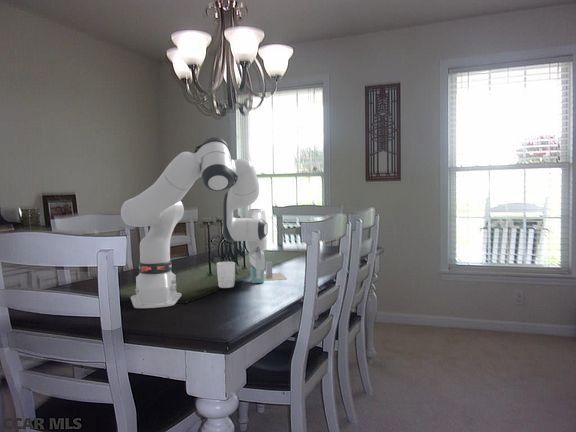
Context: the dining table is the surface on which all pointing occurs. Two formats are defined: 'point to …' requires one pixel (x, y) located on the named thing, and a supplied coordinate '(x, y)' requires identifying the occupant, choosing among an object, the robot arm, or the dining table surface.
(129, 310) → the dining table surface
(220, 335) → the dining table surface
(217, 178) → the robot arm
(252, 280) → the teal upright block
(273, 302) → the dining table surface
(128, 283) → the dining table surface
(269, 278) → the post
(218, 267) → the white cup
